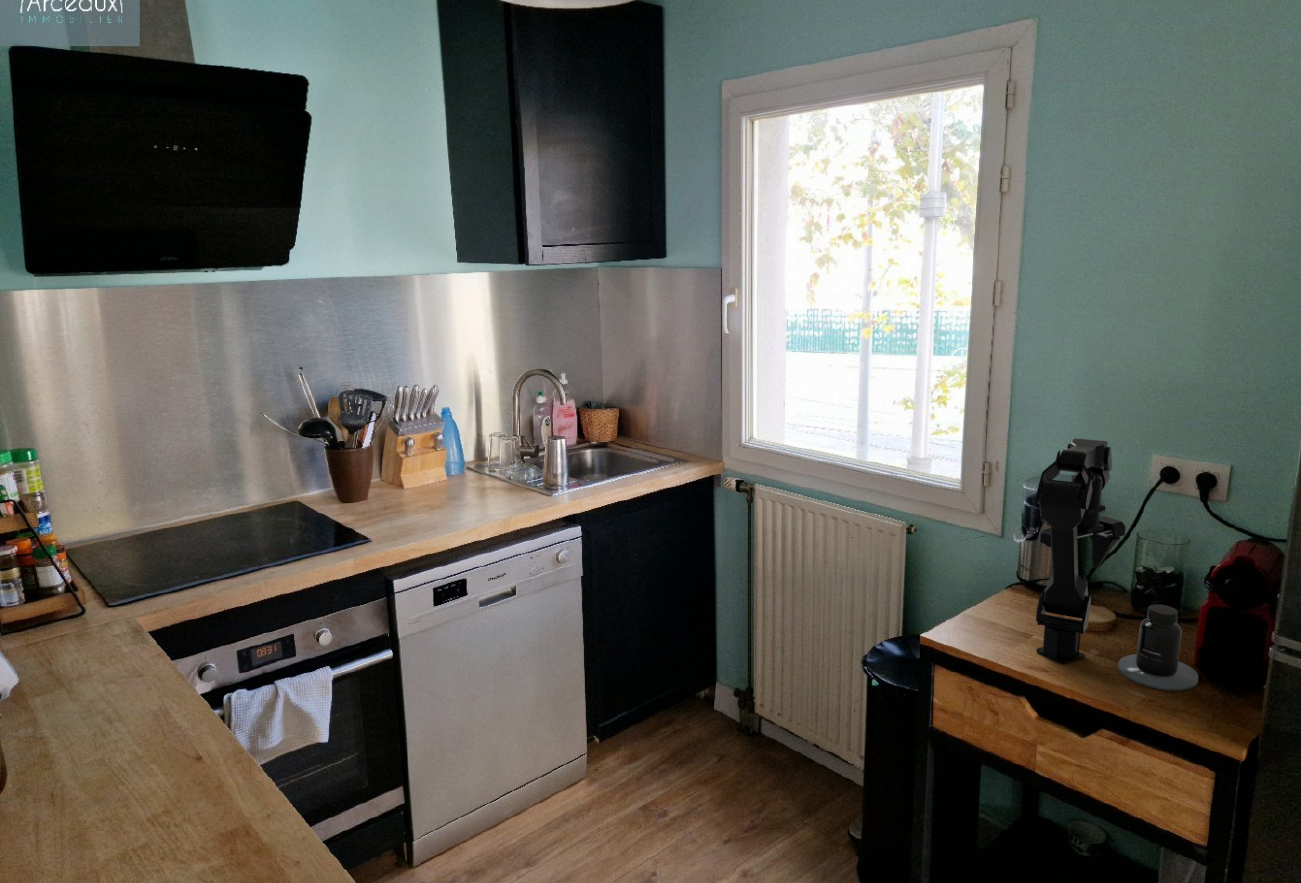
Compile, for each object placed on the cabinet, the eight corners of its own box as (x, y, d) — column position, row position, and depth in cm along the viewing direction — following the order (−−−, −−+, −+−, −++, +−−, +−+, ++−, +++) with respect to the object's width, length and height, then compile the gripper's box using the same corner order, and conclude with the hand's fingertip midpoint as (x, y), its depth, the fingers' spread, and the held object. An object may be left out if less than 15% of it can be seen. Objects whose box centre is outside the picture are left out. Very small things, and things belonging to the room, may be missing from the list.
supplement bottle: (1140, 675, 164) (1146, 615, 162) (1131, 659, 171) (1137, 600, 168) (1182, 679, 162) (1188, 618, 160) (1171, 662, 169) (1177, 603, 166)
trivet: (1167, 697, 158) (1167, 693, 158) (1102, 667, 170) (1103, 663, 169) (1214, 680, 163) (1214, 676, 163) (1148, 652, 175) (1148, 648, 175)
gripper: (1083, 484, 193) (1078, 552, 196) (1020, 497, 185) (1016, 568, 189) (1130, 496, 183) (1123, 568, 187) (1065, 510, 175) (1060, 585, 179)
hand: (1079, 571), depth 185 cm, fingers open, 9 cm apart
